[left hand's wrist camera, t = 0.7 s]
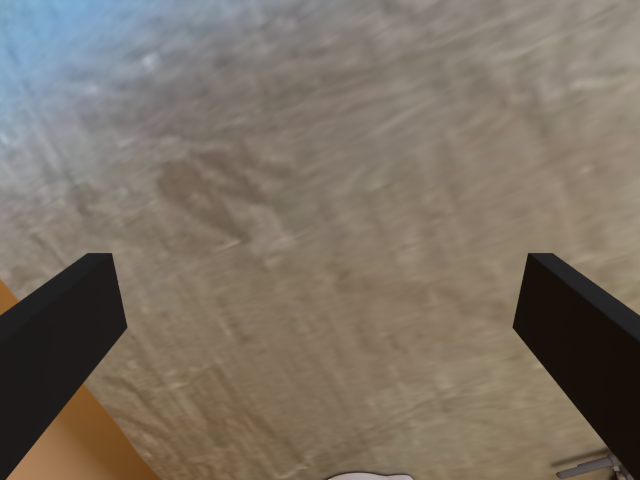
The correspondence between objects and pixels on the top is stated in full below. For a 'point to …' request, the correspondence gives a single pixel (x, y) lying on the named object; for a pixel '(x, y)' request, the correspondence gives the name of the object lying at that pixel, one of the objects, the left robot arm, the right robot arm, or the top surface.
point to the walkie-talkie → (611, 460)
